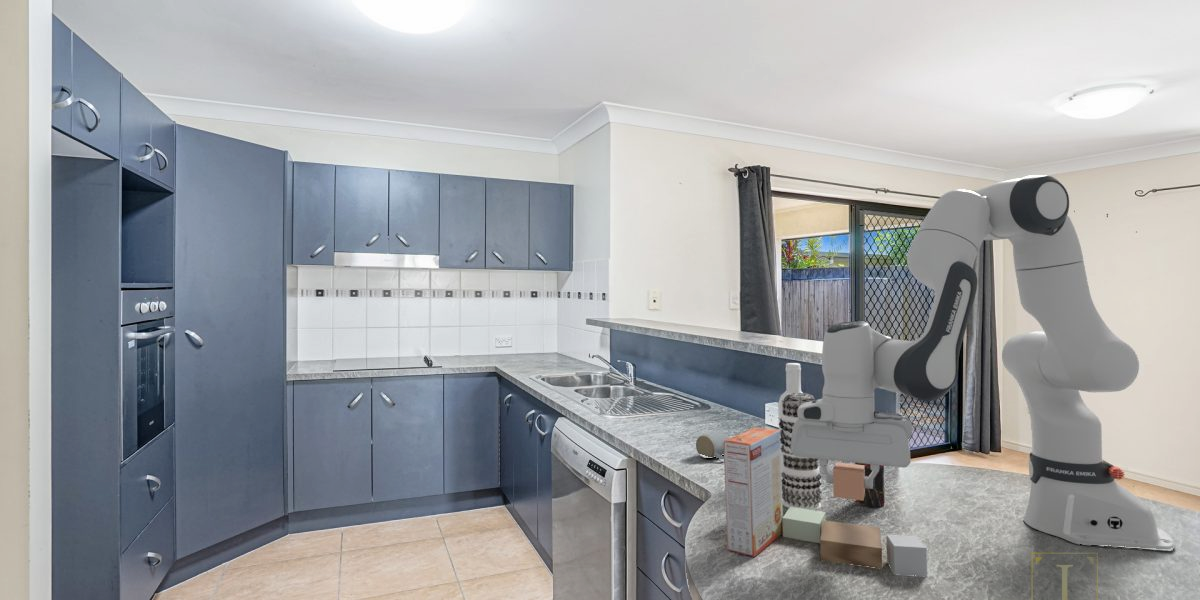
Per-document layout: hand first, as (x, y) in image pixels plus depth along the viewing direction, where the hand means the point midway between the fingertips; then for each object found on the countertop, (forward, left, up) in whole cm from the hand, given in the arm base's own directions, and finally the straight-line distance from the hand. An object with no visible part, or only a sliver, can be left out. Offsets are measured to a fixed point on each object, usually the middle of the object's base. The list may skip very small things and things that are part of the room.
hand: (849, 485), depth 109 cm
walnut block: (0, 0, -13) cm, 13 cm away
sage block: (+9, -6, -13) cm, 17 cm away
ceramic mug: (+40, -54, -13) cm, 68 cm away
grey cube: (-9, +3, -13) cm, 16 cm away
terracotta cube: (0, 0, -2) cm, 2 cm away
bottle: (+16, -41, -13) cm, 46 cm away
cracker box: (+17, +2, -13) cm, 21 cm away
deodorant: (-2, -30, -13) cm, 33 cm away
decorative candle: (+12, -23, -13) cm, 29 cm away
